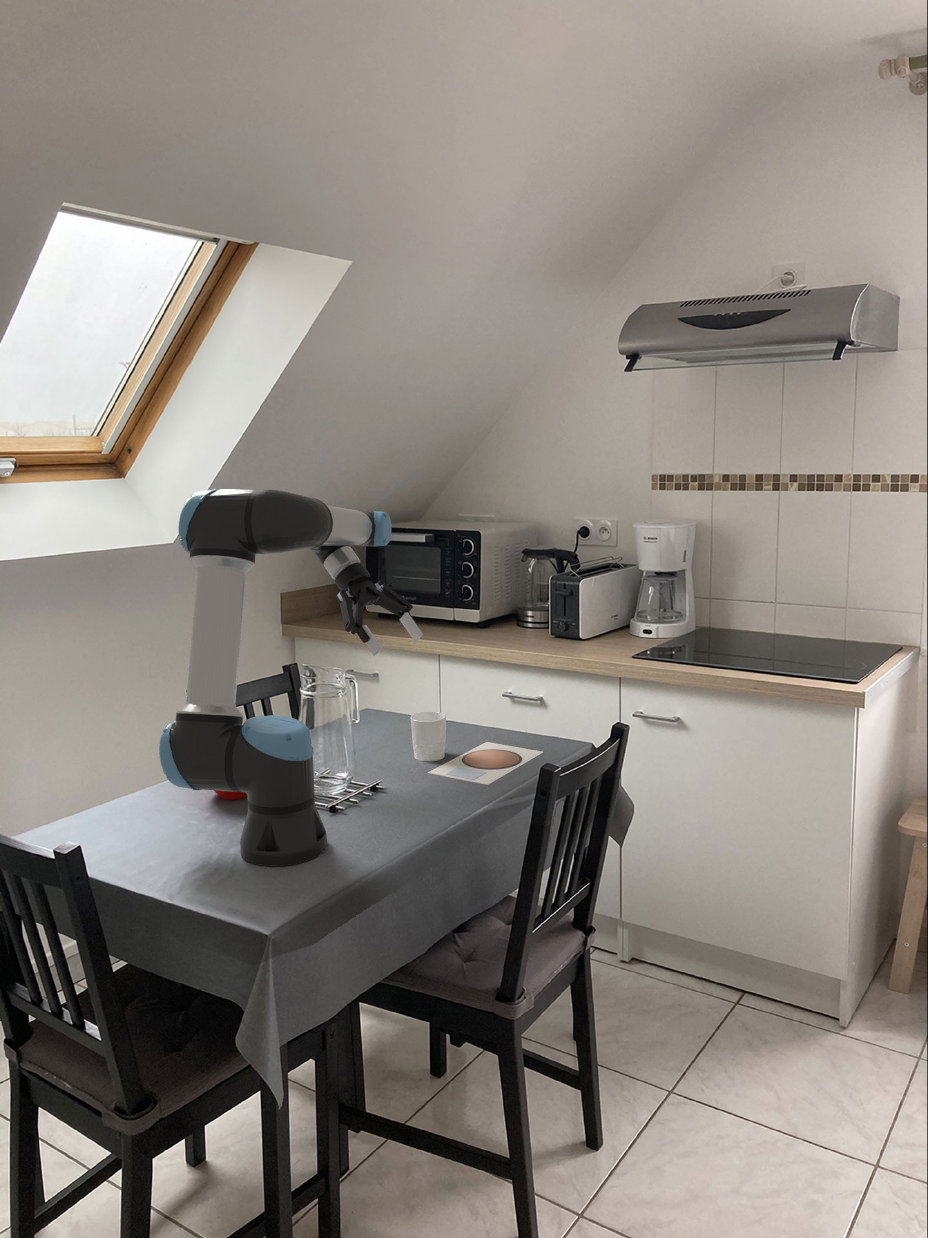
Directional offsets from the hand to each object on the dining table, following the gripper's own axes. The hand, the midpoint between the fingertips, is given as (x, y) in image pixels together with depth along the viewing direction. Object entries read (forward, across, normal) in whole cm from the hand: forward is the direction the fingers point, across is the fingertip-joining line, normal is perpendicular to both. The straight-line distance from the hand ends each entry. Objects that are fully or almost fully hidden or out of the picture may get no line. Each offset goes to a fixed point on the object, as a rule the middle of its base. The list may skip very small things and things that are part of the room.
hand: (399, 645), depth 225 cm
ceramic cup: (+10, +37, -25) cm, 46 cm away
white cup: (+24, 0, -12) cm, 27 cm away
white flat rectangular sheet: (+32, -4, -2) cm, 33 cm away
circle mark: (+32, -6, -2) cm, 32 cm away
